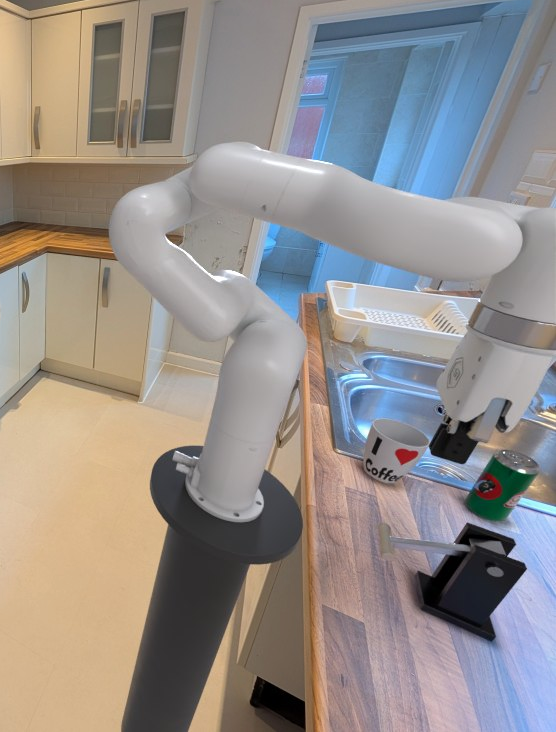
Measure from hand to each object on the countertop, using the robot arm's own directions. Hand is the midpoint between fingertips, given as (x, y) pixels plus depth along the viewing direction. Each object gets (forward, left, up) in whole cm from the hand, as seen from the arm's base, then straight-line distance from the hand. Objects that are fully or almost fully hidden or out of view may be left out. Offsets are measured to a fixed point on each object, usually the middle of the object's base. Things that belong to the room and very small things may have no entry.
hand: (445, 455), depth 54 cm
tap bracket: (+8, 0, -23) cm, 24 cm away
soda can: (+16, +25, -23) cm, 38 cm away
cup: (+2, +26, -23) cm, 35 cm away
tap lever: (+4, 0, -15) cm, 16 cm away
